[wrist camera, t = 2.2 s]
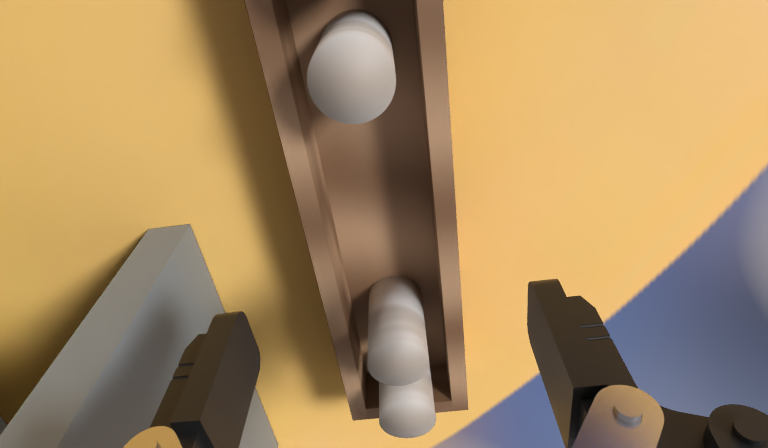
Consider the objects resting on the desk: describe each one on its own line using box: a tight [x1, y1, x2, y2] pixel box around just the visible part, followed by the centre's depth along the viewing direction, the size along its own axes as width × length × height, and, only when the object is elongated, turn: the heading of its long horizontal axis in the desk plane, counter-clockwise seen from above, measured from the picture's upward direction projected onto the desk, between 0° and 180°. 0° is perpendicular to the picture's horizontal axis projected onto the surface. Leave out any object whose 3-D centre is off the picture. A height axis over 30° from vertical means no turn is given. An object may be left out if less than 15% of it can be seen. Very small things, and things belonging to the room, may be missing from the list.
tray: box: [245, 0, 468, 438], centre depth 20 cm, size 24×6×5 cm, turn 7°
